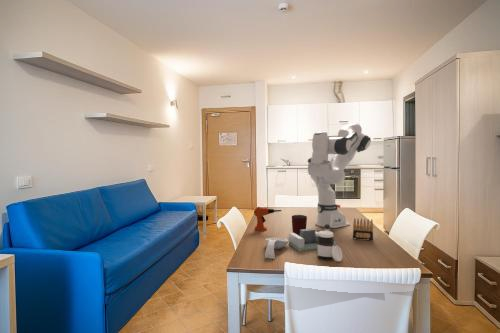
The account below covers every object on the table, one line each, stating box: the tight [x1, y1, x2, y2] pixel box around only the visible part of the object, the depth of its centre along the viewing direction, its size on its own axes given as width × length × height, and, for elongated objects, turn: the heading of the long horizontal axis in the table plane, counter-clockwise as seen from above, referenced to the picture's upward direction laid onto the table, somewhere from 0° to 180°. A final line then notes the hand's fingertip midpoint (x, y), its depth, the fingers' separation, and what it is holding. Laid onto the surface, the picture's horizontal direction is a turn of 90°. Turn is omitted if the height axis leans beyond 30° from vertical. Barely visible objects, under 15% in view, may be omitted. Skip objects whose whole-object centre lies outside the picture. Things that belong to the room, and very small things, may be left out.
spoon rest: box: [264, 237, 289, 260], centre depth 145 cm, size 24×12×7 cm, turn 165°
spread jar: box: [316, 230, 343, 262], centre depth 135 cm, size 12×11×12 cm
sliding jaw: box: [315, 224, 331, 243], centre depth 155 cm, size 10×11×9 cm
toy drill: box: [253, 206, 282, 232], centre depth 180 cm, size 5×19×15 cm, turn 67°
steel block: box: [300, 228, 316, 244], centre depth 152 cm, size 8×3×7 cm, turn 109°
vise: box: [288, 232, 337, 252], centre depth 153 cm, size 22×11×6 cm, turn 109°
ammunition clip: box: [352, 217, 374, 241], centre depth 162 cm, size 11×2×12 cm, turn 72°
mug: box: [291, 214, 308, 236], centre depth 173 cm, size 12×9×11 cm
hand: (319, 184), depth 165 cm, fingers closed
